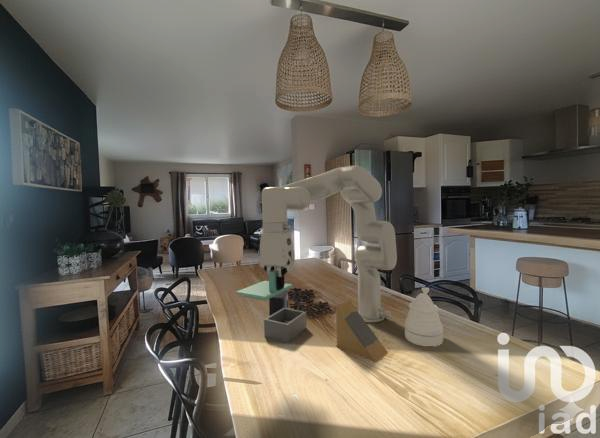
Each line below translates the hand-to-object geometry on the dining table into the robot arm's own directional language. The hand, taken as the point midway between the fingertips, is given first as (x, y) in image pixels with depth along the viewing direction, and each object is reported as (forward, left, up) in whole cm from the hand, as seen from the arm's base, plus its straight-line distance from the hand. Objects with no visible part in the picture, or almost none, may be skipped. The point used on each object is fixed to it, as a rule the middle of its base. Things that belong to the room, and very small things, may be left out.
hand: (276, 287), depth 87 cm
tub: (+10, -20, -25) cm, 33 cm away
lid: (+4, 0, -1) cm, 5 cm away
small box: (+22, -33, -25) cm, 47 cm away
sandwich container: (-19, -22, -25) cm, 38 cm away
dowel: (+10, -23, -24) cm, 35 cm away
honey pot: (-37, -40, -25) cm, 60 cm away
